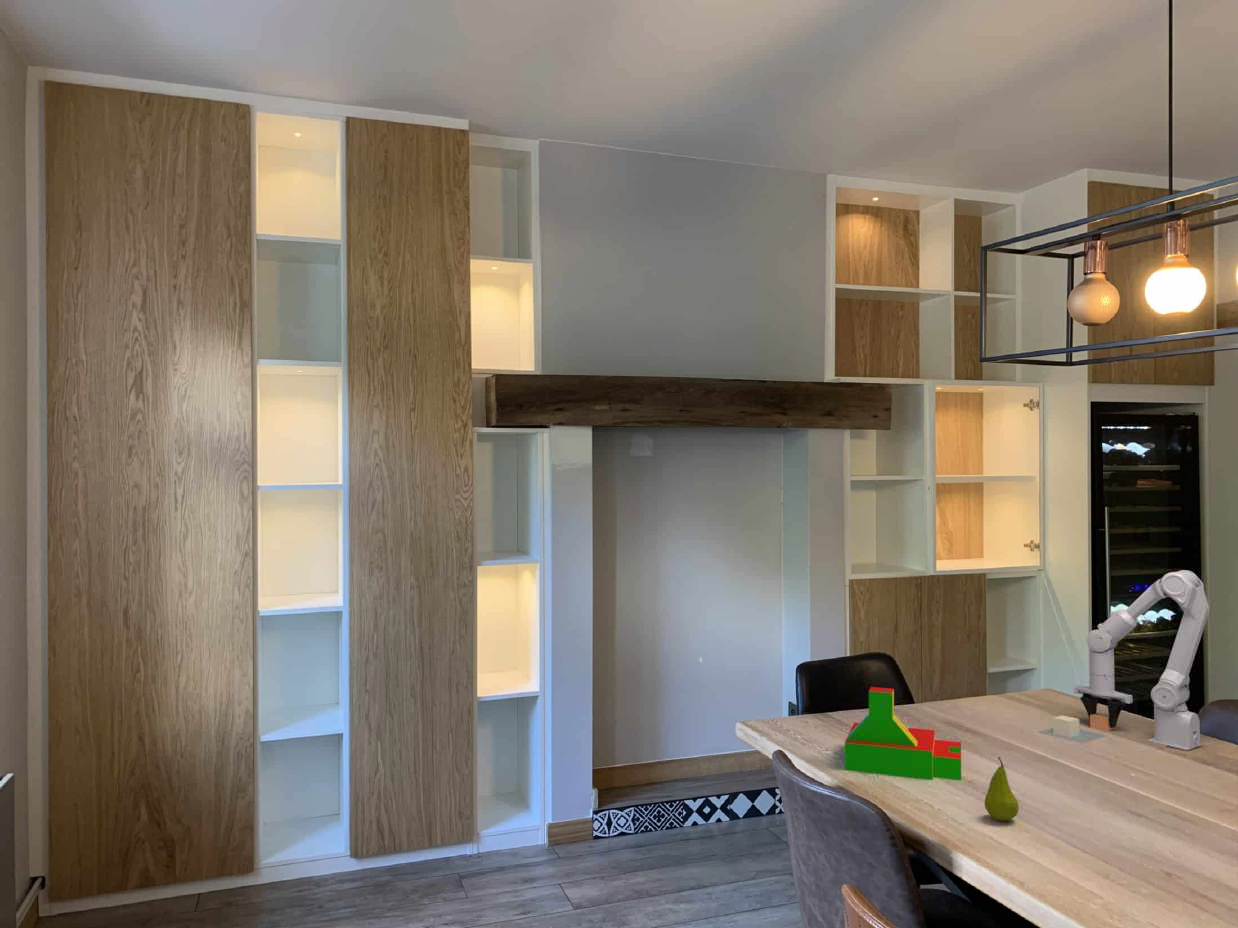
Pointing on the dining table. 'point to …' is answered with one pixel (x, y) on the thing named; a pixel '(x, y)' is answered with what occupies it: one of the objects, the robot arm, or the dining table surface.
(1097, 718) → the terracotta block
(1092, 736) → the grey square plate
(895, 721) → the building blocks toy
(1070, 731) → the cream block
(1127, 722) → the dining table surface
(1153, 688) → the robot arm
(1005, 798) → the fruit
